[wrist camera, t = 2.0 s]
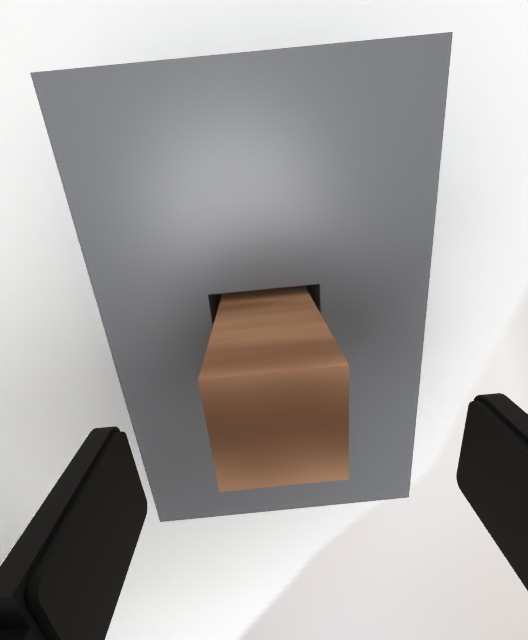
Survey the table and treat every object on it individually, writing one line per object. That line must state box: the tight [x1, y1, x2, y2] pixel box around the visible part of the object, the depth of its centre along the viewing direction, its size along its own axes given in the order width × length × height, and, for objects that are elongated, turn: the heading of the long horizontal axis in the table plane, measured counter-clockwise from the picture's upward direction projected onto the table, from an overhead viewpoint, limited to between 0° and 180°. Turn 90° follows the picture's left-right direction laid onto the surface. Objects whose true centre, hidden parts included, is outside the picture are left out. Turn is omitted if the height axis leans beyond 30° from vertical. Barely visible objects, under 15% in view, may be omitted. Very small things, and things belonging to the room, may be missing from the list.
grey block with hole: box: [30, 32, 453, 522], centre depth 20 cm, size 24×16×6 cm, turn 5°
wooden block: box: [198, 285, 349, 492], centre depth 16 cm, size 4×4×13 cm
